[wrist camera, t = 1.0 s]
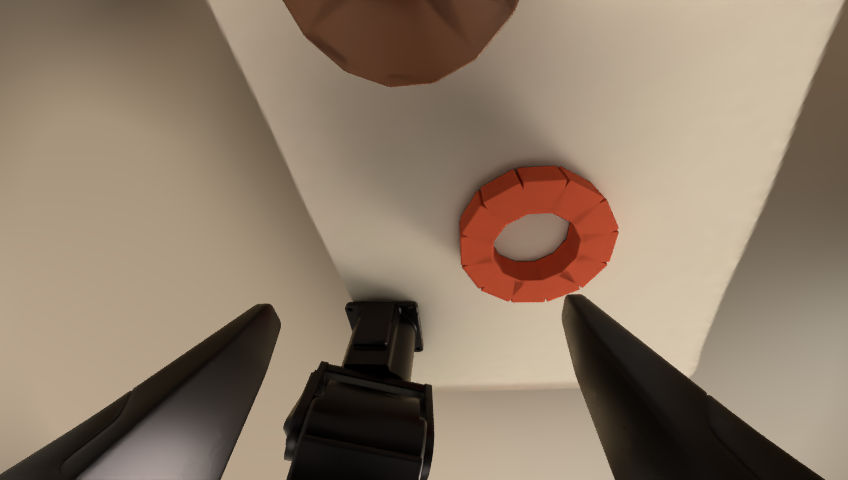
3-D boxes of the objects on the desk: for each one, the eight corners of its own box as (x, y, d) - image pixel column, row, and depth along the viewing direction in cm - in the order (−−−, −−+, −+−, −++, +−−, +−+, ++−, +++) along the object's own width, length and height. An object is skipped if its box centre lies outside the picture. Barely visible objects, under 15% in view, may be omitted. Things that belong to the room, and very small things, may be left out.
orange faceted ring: (586, 281, 24) (597, 301, 22) (461, 283, 25) (462, 302, 23) (619, 161, 19) (637, 175, 17) (458, 170, 20) (458, 184, 18)
